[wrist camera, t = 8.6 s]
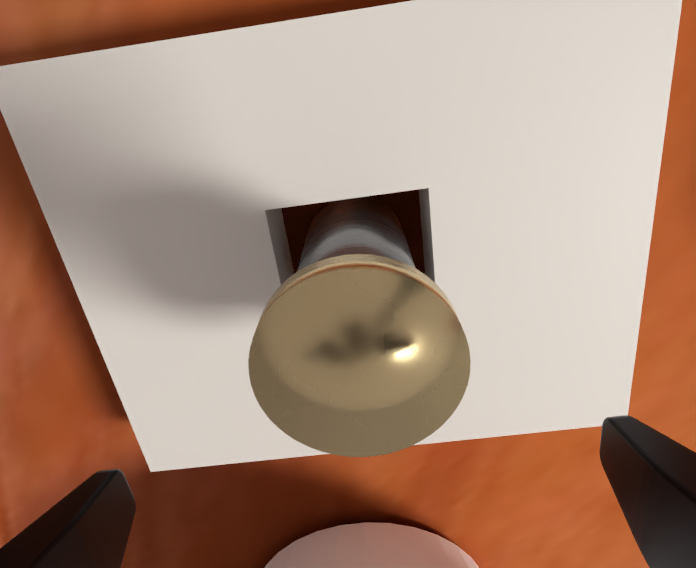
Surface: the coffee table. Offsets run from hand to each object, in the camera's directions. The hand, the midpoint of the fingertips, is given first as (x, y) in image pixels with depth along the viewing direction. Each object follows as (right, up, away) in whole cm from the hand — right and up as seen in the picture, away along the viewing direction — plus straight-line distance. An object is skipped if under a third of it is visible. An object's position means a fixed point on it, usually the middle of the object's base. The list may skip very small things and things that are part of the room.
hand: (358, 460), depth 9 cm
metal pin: (0, +5, +10) cm, 12 cm away
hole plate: (0, +5, +10) cm, 12 cm away
